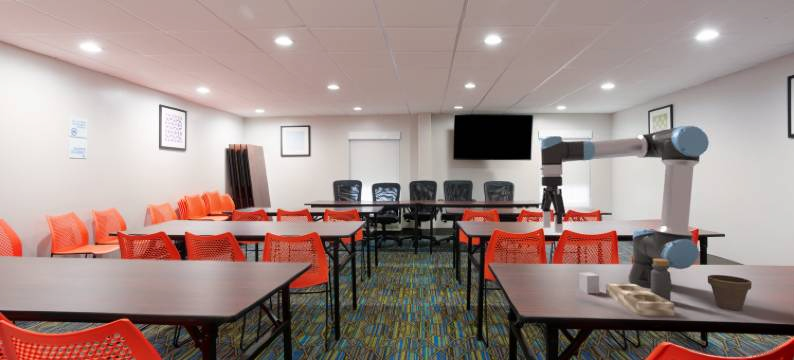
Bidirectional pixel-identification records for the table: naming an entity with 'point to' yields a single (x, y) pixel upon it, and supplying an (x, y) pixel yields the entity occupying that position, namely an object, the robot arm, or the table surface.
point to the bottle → (660, 278)
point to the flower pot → (729, 291)
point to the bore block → (640, 300)
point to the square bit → (589, 282)
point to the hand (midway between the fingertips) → (552, 230)
